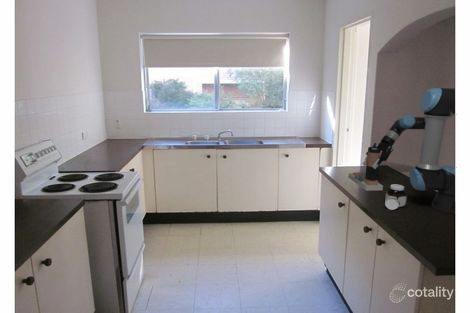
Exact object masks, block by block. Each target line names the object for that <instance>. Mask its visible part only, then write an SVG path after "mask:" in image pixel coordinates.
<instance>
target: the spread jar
mask: <svg viewBox="0 0 470 313" xmlns="http://www.w3.org/2000/svg"><path fill="white" fill-rule="evenodd" d="M384 198H385V201H384V205H385V207H386V208H387V209H388V210H391V211H392V210H396V209H402V208H403V207H405V206H406V204H407V198H408V197H407V192H406V191H405V186H403V185H401V184H396V183H395V184H394V183H392V184H391V185H390V186H389V188H388V189H387V190H386V193H385V197H384Z"/></svg>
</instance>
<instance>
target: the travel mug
mask: <svg viewBox="0 0 470 313" xmlns="http://www.w3.org/2000/svg"><path fill="white" fill-rule="evenodd" d="M367 152H368V154H367V155H366V157H367V163H366V166H365V167H366V168H365V174H366V179H369V180H377V181H378V178H379V170H380V165H378V166H377V168H376V169H374V168H373V167H372V166H373V165H374V164H375V162H376V161H377V160H378V159H380V156H381V153H382V151H381V148H380V149H379V148H378V147H373V146H368V148H367Z"/></svg>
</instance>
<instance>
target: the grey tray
mask: <svg viewBox="0 0 470 313" xmlns="http://www.w3.org/2000/svg"><path fill="white" fill-rule="evenodd" d="M353 173H354V172H353ZM353 173H352V172H349V173H348V174H347V175H348V177H347V178H348V179H349V180H351V181H352V182H354V183H355V184H356V185H358V186H359V188H362V190H364V191H365V190H366V191H367V192H368V191H370V192H371V191H383V190H384V189H383V188H384V185H382V184H381V183H379V182H378V185H367V184H366V183H364V181H362V180H361V179H359V177H356V176H355V175H353ZM362 173H363V174H365V173H364V172H362Z"/></svg>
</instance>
